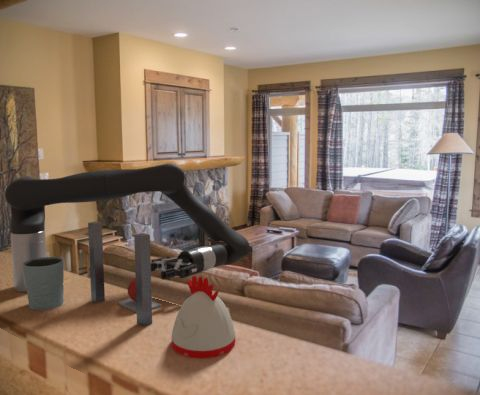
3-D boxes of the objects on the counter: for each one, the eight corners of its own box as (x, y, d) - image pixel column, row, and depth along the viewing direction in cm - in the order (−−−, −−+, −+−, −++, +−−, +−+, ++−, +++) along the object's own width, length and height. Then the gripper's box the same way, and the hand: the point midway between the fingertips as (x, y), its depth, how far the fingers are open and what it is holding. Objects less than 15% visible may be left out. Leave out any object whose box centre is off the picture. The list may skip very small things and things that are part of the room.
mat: (117, 303, 120) (117, 302, 120) (139, 297, 125) (139, 295, 125) (139, 313, 113) (139, 311, 113) (161, 306, 119) (161, 304, 118)
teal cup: (45, 313, 113) (42, 268, 112) (16, 308, 117) (13, 264, 116) (74, 300, 123) (71, 258, 121) (46, 295, 126) (43, 254, 125)
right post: (137, 323, 108) (134, 234, 105) (145, 320, 109) (143, 233, 106) (143, 326, 106) (140, 236, 103) (152, 323, 108) (149, 234, 105)
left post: (91, 300, 122) (87, 222, 119) (100, 298, 124) (96, 221, 121) (96, 303, 121) (92, 223, 118) (104, 300, 123) (101, 222, 120)
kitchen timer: (200, 324, 107) (199, 264, 105) (247, 339, 99) (247, 274, 97) (158, 346, 96) (156, 279, 94) (207, 365, 88) (206, 292, 86)
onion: (123, 304, 118) (122, 275, 117) (137, 298, 123) (137, 270, 122) (140, 308, 116) (139, 279, 114) (154, 301, 121) (153, 273, 120)
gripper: (181, 244, 137) (137, 254, 126) (213, 252, 128) (168, 264, 116) (182, 267, 138) (138, 280, 127) (213, 277, 129) (168, 291, 117)
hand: (152, 272), depth 121 cm, fingers open, 8 cm apart
